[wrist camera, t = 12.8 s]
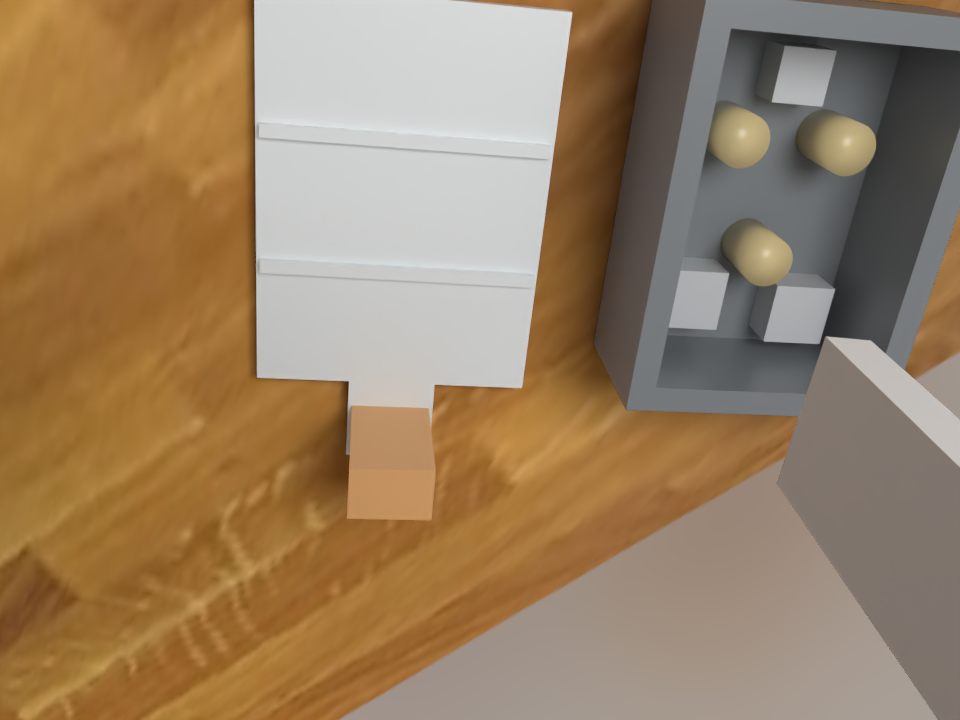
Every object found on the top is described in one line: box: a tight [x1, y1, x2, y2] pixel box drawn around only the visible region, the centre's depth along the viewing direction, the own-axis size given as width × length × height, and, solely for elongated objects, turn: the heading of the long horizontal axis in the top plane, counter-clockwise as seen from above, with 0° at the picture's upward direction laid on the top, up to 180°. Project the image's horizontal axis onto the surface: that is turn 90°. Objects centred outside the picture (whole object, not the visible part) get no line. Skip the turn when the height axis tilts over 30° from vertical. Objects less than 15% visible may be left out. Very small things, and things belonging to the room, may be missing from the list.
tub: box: [593, 0, 960, 416], centre depth 42 cm, size 13×18×7 cm
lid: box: [254, 0, 572, 520], centre depth 42 cm, size 14×23×7 cm, turn 174°
